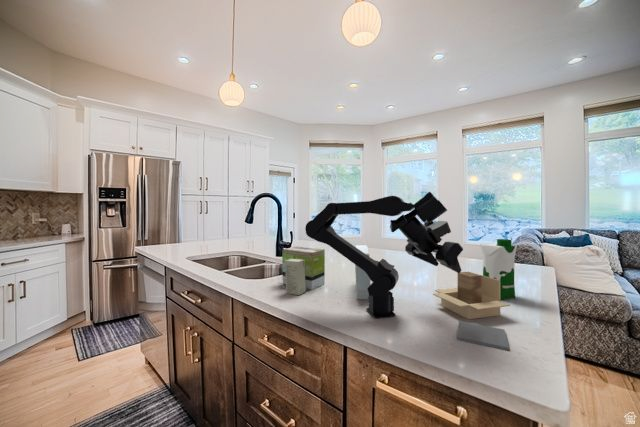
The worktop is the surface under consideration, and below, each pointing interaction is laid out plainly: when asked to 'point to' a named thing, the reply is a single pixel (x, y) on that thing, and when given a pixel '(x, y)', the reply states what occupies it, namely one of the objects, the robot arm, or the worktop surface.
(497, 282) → the cardboard carton
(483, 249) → the milk carton
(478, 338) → the slate coaster
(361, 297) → the skincare box
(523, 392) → the worktop surface
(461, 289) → the walnut box
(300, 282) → the skincare box
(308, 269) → the tea box
